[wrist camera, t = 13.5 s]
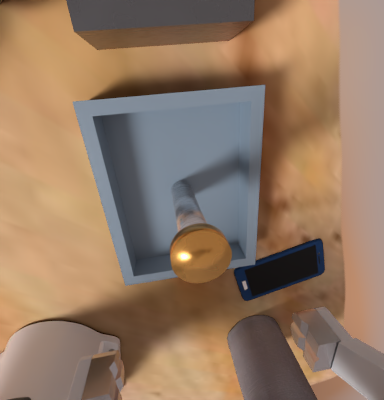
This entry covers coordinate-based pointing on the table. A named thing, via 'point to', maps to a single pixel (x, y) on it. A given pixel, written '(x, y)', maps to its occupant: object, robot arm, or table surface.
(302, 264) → the cell phone
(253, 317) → the pillar candle
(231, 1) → the block
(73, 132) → the table surface
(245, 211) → the tray
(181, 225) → the pin
